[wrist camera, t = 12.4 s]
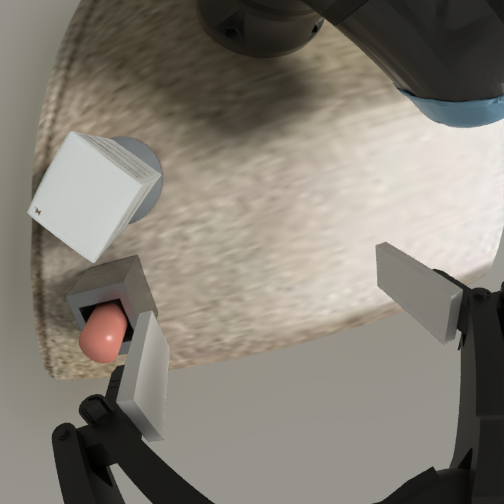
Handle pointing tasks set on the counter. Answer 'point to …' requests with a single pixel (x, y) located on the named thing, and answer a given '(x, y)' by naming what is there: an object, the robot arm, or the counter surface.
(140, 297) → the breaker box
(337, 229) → the counter surface
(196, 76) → the counter surface
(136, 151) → the coaster
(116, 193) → the supplement box
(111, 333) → the button
